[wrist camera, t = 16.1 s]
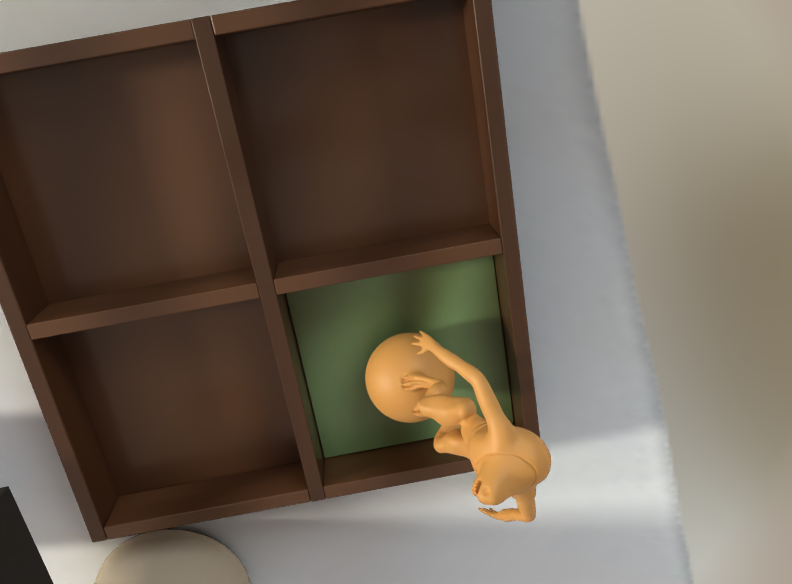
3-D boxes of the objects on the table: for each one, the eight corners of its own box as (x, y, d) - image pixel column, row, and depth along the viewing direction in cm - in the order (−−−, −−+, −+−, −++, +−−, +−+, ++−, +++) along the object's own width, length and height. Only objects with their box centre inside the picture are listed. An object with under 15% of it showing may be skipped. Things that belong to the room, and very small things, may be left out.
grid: (472, -27, 29) (488, -34, 26) (526, 424, 36) (542, 458, 33) (-48, 65, 29) (-92, 69, 26) (112, 502, 36) (92, 543, 33)
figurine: (333, 296, 32) (330, 435, 21) (457, 249, 32) (523, 363, 21) (397, 443, 35) (425, 635, 24) (512, 401, 35) (596, 574, 23)
